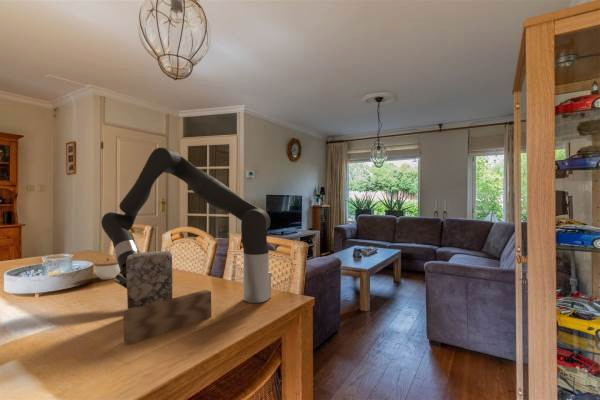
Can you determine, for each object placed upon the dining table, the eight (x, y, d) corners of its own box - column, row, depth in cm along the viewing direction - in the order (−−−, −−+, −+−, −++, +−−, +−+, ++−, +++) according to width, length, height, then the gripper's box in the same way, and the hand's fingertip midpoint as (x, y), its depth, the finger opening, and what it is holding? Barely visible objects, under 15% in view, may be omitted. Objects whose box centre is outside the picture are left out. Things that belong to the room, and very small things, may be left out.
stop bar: (206, 314, 96) (206, 289, 96) (211, 316, 94) (211, 291, 94) (123, 341, 78) (123, 311, 78) (127, 345, 76) (127, 314, 76)
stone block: (126, 323, 90) (125, 256, 90) (127, 315, 96) (127, 253, 96) (174, 314, 96) (173, 252, 96) (172, 307, 102) (171, 249, 102)
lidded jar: (118, 273, 149) (118, 254, 148) (123, 277, 141) (123, 258, 141) (92, 277, 141) (92, 257, 141) (96, 282, 133) (96, 261, 133)
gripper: (110, 252, 102) (122, 295, 94) (150, 247, 112) (164, 285, 104) (105, 265, 106) (117, 308, 98) (144, 259, 116) (158, 297, 108)
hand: (142, 296), depth 101 cm, fingers closed
